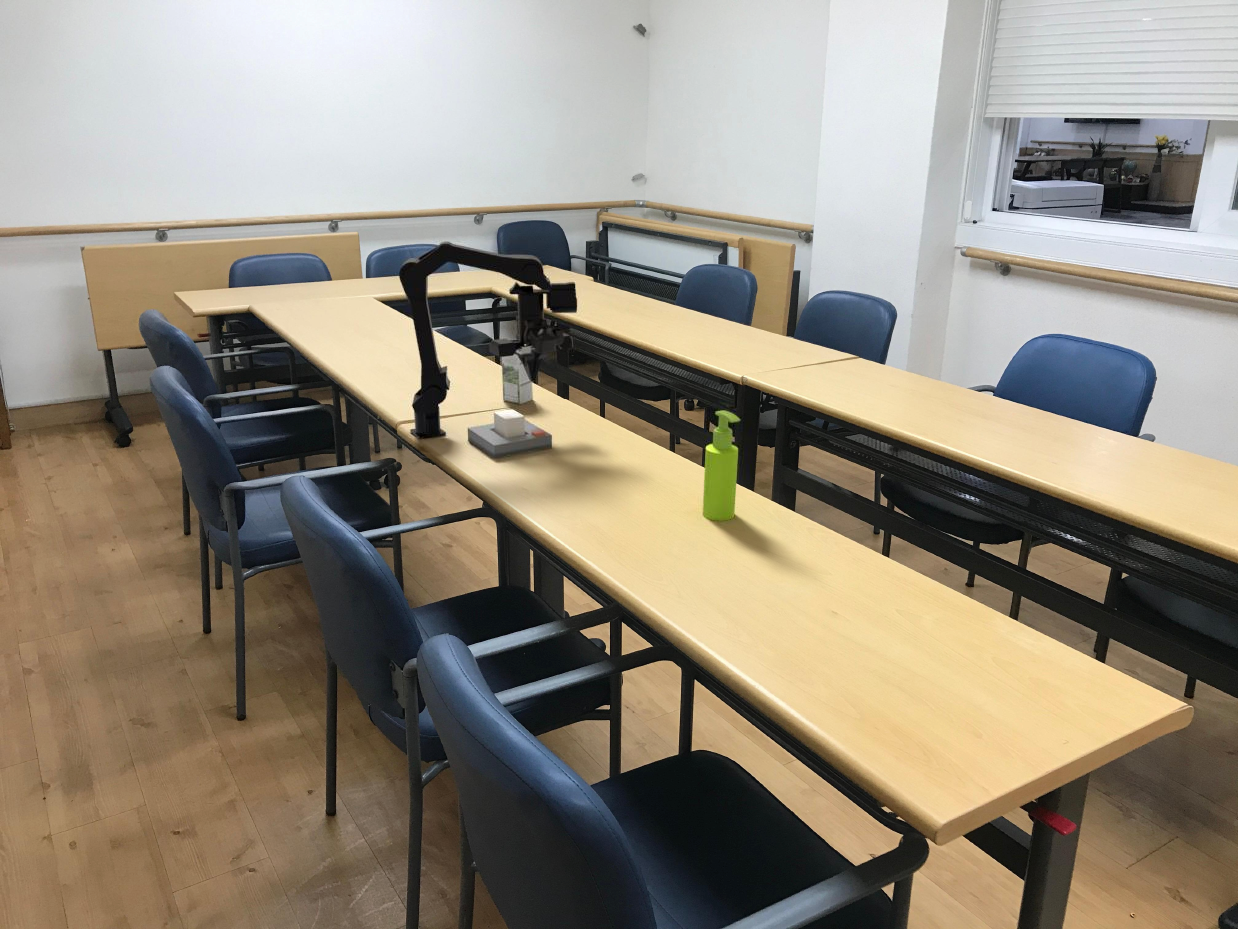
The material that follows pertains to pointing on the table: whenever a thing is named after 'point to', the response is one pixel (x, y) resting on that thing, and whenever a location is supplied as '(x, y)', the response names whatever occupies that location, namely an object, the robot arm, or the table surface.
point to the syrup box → (515, 381)
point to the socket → (509, 440)
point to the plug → (509, 423)
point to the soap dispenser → (721, 471)
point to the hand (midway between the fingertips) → (532, 380)
